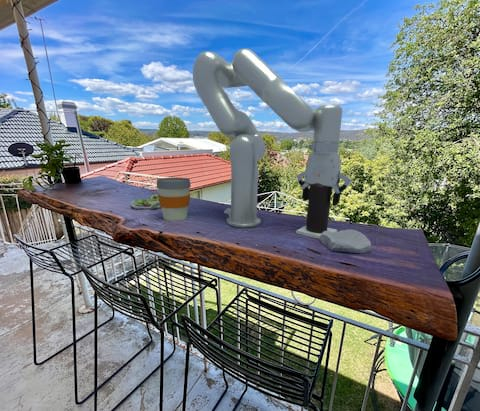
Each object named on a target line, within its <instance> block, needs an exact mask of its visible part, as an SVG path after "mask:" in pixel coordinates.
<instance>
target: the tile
mask: <svg viewBox="0 0 480 411" xmlns="http://www.w3.org/2000/svg"><path fill="white" fill-rule="evenodd" d="M327 231H329V232H338V229H336V228H335V229H334V228H330V227H328V228H327ZM295 234H297V235H302V236H307V237H311V238H314V239H319V240H320V236H321V234H322V233H314V232H310V231H308V230H307V229H306V225H304V226H302V227H300V228H299V229H296V233H295Z"/></svg>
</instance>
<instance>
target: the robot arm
mask: <svg viewBox="0 0 480 411" xmlns="http://www.w3.org/2000/svg"><path fill="white" fill-rule="evenodd" d="M231 61H232V62H228V61H227V60H225V59H224V58H223V57H221V55H219V54H217V53H216V52H213V51H209V50H207V51H203V52H201V53H200V54H198V55H197V57H196V58H195V60H194V62H193V63H194V64H193V68H192V82H193V85H194V87H195V88H194V89H195V91H196V92H197V95H198V97H199V98H200V100H201V102H202V103H203V105H204V106H205V108H206V110H207V112H208V113H209V116H210V117H211V119H212V120H213V122H214V124H215V125H216V127H217V129H218V131H219V132H220V133H221V134H222V135H223V136H227V137H232V138H233V139H232V140H231V142H230V145H229V148H228V149H229V151H228V152H229V160H230V177H231V178H230V180H231V182H230V184H231V186H230V207H227V208H226V209H225V210H224V212H223V213H224V214H225V215H228V217H227V218H226V224H227V225H229V226H231V227H235V228H254V227H257V226H259V225H260V224H261V219H260V218H259V217H258V216H257V215H258V208H257V207H258V189H259V188H258V187H259V186H258V184H259V183H258V182H259V181H258V180H259V169H258V166H259V165H258V161H260V160H262V159H263V158H264V156H265V154H266V143H265V141H264V139H263V137H262V136H261V134H260V133H259V131H258V129H257V127H256V126H255V124H254V123H253V121H252V120H251V118H250V117H249V116H248V114H246V113H245V112H243V111H241V110H239V109H237V108H236V107H235V105H234V104H233V102H232V100H231V99H230V98H229V96H228V94H227V93H226V91H225V90H224V89H228V88H239V87H240V88H241V87H248V88H249V89H250V90H251V91H252V92H253V93H254V94H255V95H256V96H257V97H258V98H259V99H260V100H261V101H262V102H263V103H265V105H267V106H269V108H270V109H271V110H272V111H273V112H274V113H275V114H276V115H277V116H278V117H279V118H280V119H281V120H282V121H283V122H284V123H286V124H287V125H288V126H289V127H290V128H291V129H293V130H294V131H296V132H299V133H308V132H313V138H312V144H309V145H308V149H309V150H311V152H309V153H308V157H307V160H306V165H305V171H302V172H300V173H298V174H297V175H296V176H295V177H296V179H297V182H298V184H299V186H300V187H301V189H302V197H301V198H302V201H303V202H306V201H307V202H308V201H309V190H310V185H312V184H315V183H320V184H322V185H324V186H327V187H331V186H332V190H333V191H334V192H333V194H332V200H331V201H332V203H331V205H332V207H336V206H337V205H338V204H340V201H341V193H342V192H344V191H345V190H346V189H347V188H348V187H349V185H350V184H351V183H352V179H351V178H350V177H348V176H347V175H345V174H343V173H342V172H341V171H342V170H341V166H342V165H341V155H340V153H339V143H340V134H341V125H342V119H343V118H342V117H343V108H342V107H341V106H340V105H338V104H337V105H336V104H324V105H320V106H317V108H312V107H311V106H310V105H309V104H308V103H307V102H306V101H305V100H304V99H302V97H301V96H299V94H297V93H296V92H295V91H294V90H293V89H292V88H291V87H290V86H289V85H288V84H287V83H286V82H285V81H284V79H283V78H282V77H281V76H280V75H279V74H278V73H277V72H276V71H275V70H274V69H273V68H271V67H270V66H269V65H268V64H267V63H266V62H265V61H264V60H263V59H262V58H261V57H260V56H259V55H257V54H256V52H254V50H251V49H249V48H241V49H239V50H237V51H236V52H235V54H234V55H233V58H232V60H231ZM318 174H320V177H318ZM303 177H304V178H303ZM340 180H342V181H344V182H343V184H342V185H341V186H340V185H339V184H340V183H341V182H340Z"/></svg>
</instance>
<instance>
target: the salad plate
mask: <svg viewBox="0 0 480 411" xmlns="http://www.w3.org/2000/svg"><path fill="white" fill-rule="evenodd" d="M158 194H159V193H156V194H153V195H151V196H149V197H148V198H138V199H135V200H132V201H131V203H130V206H131V207H132V208H133V209H135V210H158V209H162V208H161V207H160V204H159V198H158Z"/></svg>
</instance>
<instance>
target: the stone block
mask: <svg viewBox="0 0 480 411" xmlns="http://www.w3.org/2000/svg"><path fill="white" fill-rule="evenodd" d="M319 241H320V243H321V244H323V245H324V246H325V247H327V248H328V250H330V251H332V252H341V253H343V252H344V253H353V254H354V253H355V254H365V253H370V252H371V250H372V243H371V241H370V239H369V238H368V237H367V236H366V235H365V234H363V233H362V232H360V231H359V230H356V229H343V230H341V229H340V230H339V231H337V232H329V231H324V232H323V233H322V234H321V236H320V239H319Z"/></svg>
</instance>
